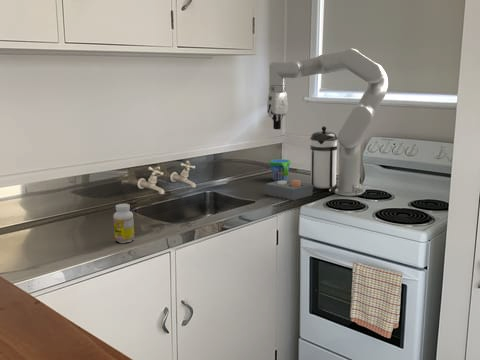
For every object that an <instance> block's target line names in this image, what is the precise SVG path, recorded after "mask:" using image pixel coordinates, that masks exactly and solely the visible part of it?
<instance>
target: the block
mask: <svg viewBox="0 0 480 360" xmlns="http://www.w3.org/2000/svg"><path fill="white" fill-rule="evenodd" d="M291 180H292V179H287V180H286V179H284V180H280V181H287V184H283V185H282V184H277V182H278V181H275V180H274V181H272V182H268V183H265V195H267V194H268V195H269V196H272V195H274V196H273V197H276V196H279V197H278V198H281V197H284V198H283V199H285V198H288V199H287V200H290V199H291V200H290V201H297V200H300V199H305V198H306V197H307V198H308V197H311V196H313V191H312V188H313V185H312V184H311V183H307V182H306V183H305V182H302V181H301V186H300V187H292V186H291ZM268 195H267V196H268Z"/></svg>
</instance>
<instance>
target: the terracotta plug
mask: <svg viewBox="0 0 480 360" xmlns="http://www.w3.org/2000/svg"><path fill="white" fill-rule="evenodd" d="M290 180H291V186H292V187H300V186H301V182H302V180H301V179H290Z"/></svg>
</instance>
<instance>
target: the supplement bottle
mask: <svg viewBox="0 0 480 360" xmlns="http://www.w3.org/2000/svg"><path fill="white" fill-rule="evenodd" d="M130 206H131V205H130V204H128V203H119V204H116V205H115V209H116V212H114V213H113V215H112V216H113V217H112V218H113V231H114V239H115V238H116V239H121V240H127V239H131V238H133V237H134V238H135V225H134V224H135V223H134V222H135V221H134V213H133V212H132V211H130V209H131V208H130Z"/></svg>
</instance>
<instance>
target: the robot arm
mask: <svg viewBox="0 0 480 360" xmlns="http://www.w3.org/2000/svg"><path fill="white" fill-rule="evenodd" d="M268 66H269V67H268V70H269V72H268V74H269V76H268V80H269V81H268V84H269V85H268V94H267V103H266V105H267V106H266V110H267V114H268V118H271V120H272V121H273V124H272V125H273V127H272V128H273V129H274V130H281V129H282V121H283V117H285V116H286V114H288V112H289V102H288V101H289V100H288V94H287V93H288V92H286V90H287V89H286V82H287V81H286V78H288V79H299V78H303V77H308V76H314V75H325V74H330V73H336V72H341V71H346V70H348V71H349V72H350V73H352V74H354V75H355V76H357V77H358V78H359V79H362V80H363V81H364V82H367V88H366V89H365V91H364V93H363V95H362V97H361V98H360V99H359V102H357V104H356V106H355V107H353V108H352V110H351V112H350V113H349V115H348V117H347V118H346V119H345V121H344V123H343V125H342V127H341V129H340V130H339V131H338V133H337V137H338V139H337V143H338V145H339V146H338V148H339V149H338V176H337V177H338V179H337V180H338V181H337V182H338V183H337V184H338V185H337V188H336V189H335V190H334V193H335V194H336V195H338V196H339V195H340V196H347V197H354V196H355V197H356V196H361V195H362V194H363V193H365V192H366V190H367V187H362V183H360V175H361V174H360V173H361V172H360V170H361V149H362V148H361V147H362V138H363V136H364V134H365V133H366V132H367V130H368V128H369V126H370V125H371V123H372V121H373V119H374V116H375V114H376V112H377V110H378V109H379V107H380V105H381V103H382V102H383V100H384V98H385V97H386V94H387V92H388V87H389V80H388V75H387V73H386V71H385V68H383V66H382V65H381V64H379V63H376V62H375V61H374V60H371V59H370V58H369V57H366V55H364V54H362V53H361V52H360V51H359V50H357V49H356V48H347V49H344V50H339V51H334V52H329V53H323V54H320V55H317V56H315V57H311V58H307V59H303V60H293V61H292V60H291V61H284V62H283V61H271V62H270V63H269V65H268Z"/></svg>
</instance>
